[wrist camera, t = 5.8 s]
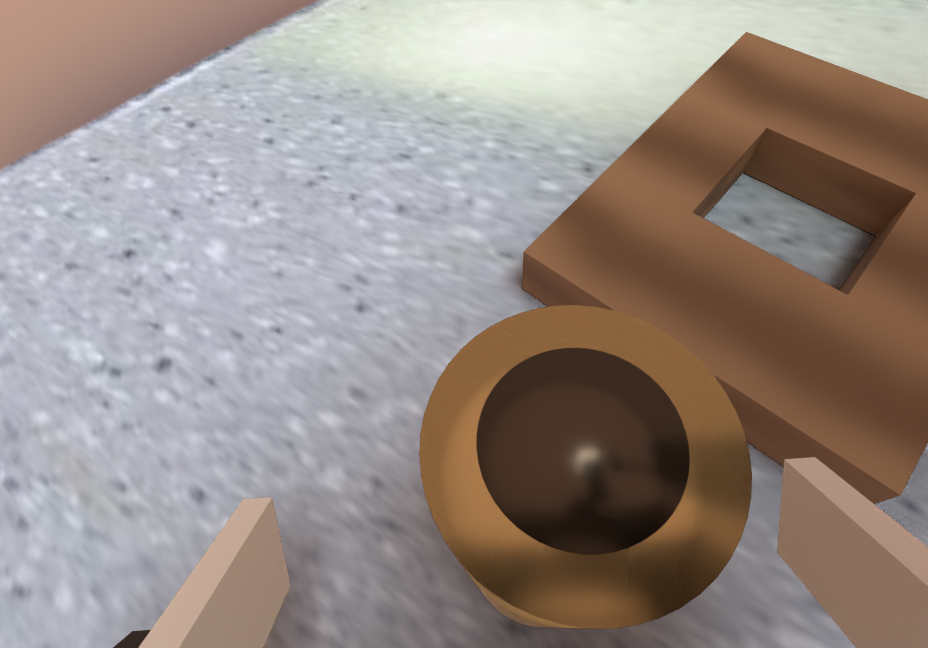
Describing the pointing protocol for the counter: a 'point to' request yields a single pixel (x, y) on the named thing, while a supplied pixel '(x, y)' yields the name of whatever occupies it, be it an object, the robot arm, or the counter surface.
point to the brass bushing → (584, 468)
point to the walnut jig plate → (763, 275)
